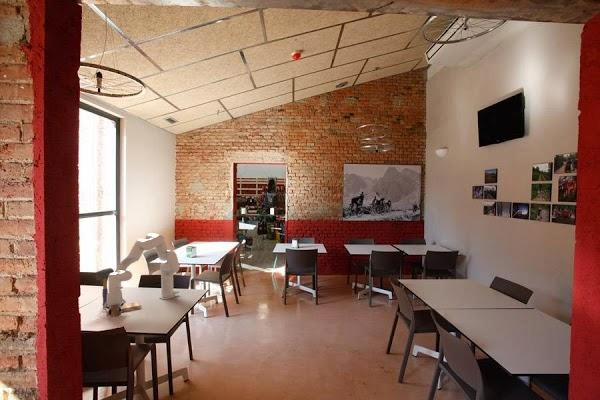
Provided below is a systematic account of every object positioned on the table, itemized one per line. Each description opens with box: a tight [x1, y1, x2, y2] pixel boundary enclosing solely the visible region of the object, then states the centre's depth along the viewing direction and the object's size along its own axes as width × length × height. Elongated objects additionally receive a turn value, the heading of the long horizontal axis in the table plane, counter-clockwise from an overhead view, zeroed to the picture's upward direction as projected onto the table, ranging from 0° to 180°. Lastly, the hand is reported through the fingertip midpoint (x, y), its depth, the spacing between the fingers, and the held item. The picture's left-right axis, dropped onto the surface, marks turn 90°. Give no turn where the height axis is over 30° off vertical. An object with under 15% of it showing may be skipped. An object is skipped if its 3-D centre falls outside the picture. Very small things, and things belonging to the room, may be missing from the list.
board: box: [105, 301, 142, 316], centre depth 249 cm, size 23×10×3 cm, turn 126°
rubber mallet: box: [94, 267, 115, 308], centre depth 255 cm, size 12×8×30 cm, turn 167°
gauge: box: [110, 304, 120, 317], centre depth 242 cm, size 5×14×8 cm, turn 36°
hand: (115, 313), depth 239 cm, fingers closed on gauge, 4 cm apart
